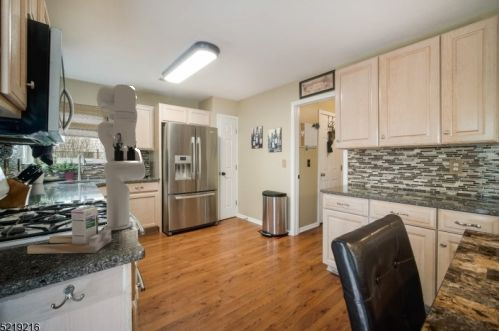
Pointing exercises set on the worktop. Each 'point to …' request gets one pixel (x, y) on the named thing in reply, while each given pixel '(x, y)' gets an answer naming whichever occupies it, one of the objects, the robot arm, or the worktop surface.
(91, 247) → the rail channel
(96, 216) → the syrup box
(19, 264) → the worktop surface
